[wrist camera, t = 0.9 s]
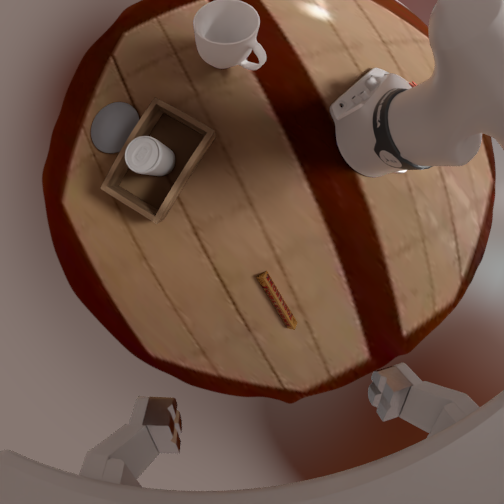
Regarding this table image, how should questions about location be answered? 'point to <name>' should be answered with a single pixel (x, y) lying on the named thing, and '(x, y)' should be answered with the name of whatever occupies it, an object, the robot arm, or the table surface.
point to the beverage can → (149, 156)
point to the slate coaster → (113, 126)
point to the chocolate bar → (277, 300)
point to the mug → (228, 34)
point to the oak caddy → (144, 129)
